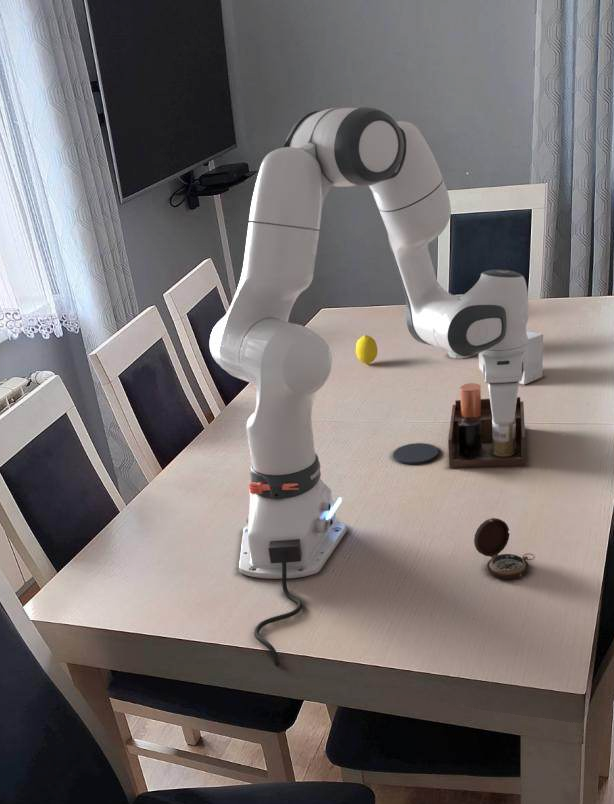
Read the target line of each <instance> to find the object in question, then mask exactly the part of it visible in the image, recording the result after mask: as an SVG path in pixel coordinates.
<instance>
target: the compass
mask: <svg viewBox="0 0 614 804" xmlns="http://www.w3.org/2000/svg"><path fill="white" fill-rule="evenodd" d="M509 531H510V529H509V526H508V524H507V523H506V522H505V521H504V520H502V519H500V518H497V517H492V518H488V519H486V520H484V521H483V522H482V523H481V524H479V526H478V528H477V529H476V531H475V533H474V539H473V542H474V543H473V544H474V547H475V550H476V551H477V552H478V553H480V554H481V555H483V556H485V557H490V558H491V559H489V560H488V561H487V564H486V568H487V572H488V573H489V574H490V575H492V577H495V578H498V579H501V580H502V579H503V580H514V579H518V578H521V577H522V576H524V575H526V574H527V572H528V571H529V563H528V561H532V560H534V559H535V558H536V555H535V554H534V553H524V554H523V555H522V557H521V556H519V555H517V554H512V553H502V554H500V553H501V552H503V550H504V549H505V548H506V546H507V545H508V542H509V539H510V533H509ZM527 555H530V556H533V557H532V558H529V557H528V556H527Z"/></svg>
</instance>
